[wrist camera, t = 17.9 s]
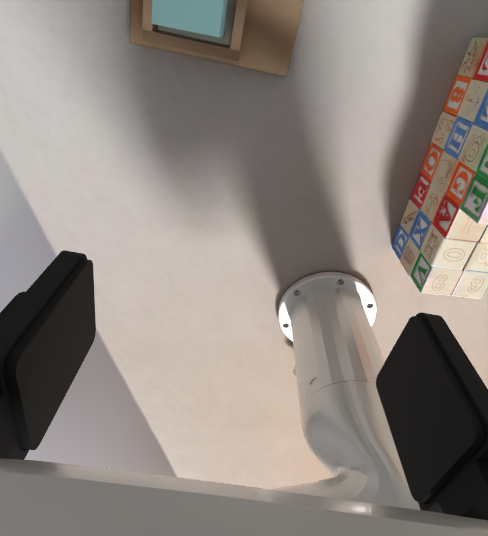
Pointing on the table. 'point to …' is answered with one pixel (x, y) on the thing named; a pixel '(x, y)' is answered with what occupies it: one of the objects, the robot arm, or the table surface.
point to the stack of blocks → (453, 192)
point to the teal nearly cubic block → (192, 15)
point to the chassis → (229, 34)
